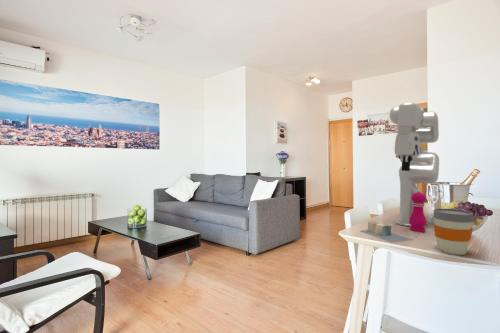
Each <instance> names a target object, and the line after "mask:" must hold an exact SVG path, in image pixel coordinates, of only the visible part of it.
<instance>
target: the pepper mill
mask: <svg viewBox="0 0 500 333" xmlns="http://www.w3.org/2000/svg"><path fill="white" fill-rule="evenodd" d="M419 189H420V188H419ZM419 189H418V190H417V193H414V194H413V195H412V197H411V199H412V201H413V204H412V205H413V212H412V215H411V216H410V219H409V223H410V224H411V226H410V227H409V230H410V231H413V232H419V233H423V234H424V233H426V228H425V226H427V217H426V216H425V213H424V207H425V202H426V200H427V197H426V195H425V194H424V193H423V192H422V191H421V189H420V190H419ZM420 192H421V193H420ZM425 217H426V218H425Z"/></svg>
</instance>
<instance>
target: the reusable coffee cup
mask: <svg viewBox="0 0 500 333" xmlns="http://www.w3.org/2000/svg"><path fill="white" fill-rule="evenodd" d="M432 217H433V220H434V221H433V222H434V223H433V231H434V237H435V239H436V247H437V249H438V250H440V251H441V252H442V253H445V254H449V255H460V256H461V255H466V254H467V251H468V246H469V242H470V241H471V238H472V233H473V228H472V226H473V222H474V219H475V218H474V212H471V211H468V210H463V209H462V210H461V209H456V208H435V209H433V215H432Z"/></svg>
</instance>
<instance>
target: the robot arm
mask: <svg viewBox="0 0 500 333" xmlns="http://www.w3.org/2000/svg"><path fill="white" fill-rule="evenodd" d="M389 119H390V122H391V123H392V124H395V125H397V133H396V136H395V141H394V154H395V158H396V159H399V160H400V162H401V166H400V167H399V169H398V177H399V185H400V187H399V188H400V191H399V217H398V218H399V219H396V220H395V223H396V224H397V225H400V226H403V227H409V228H410V226H411V224H410V223H409V219H410V216H411V215H412V212H413V205H412V204H413V201H412V199H411V197H412V195H413V194H414V193H417V190H418V189H419V190H421V189H420V187H419V186H418V185H417V184H435V183H437V181H438V179H439V174H440V173H439V171H440V158H439V155H438V154H437V153H436V152H432V151H431V152H428V151H427V152H425V150H424V149H423V147H422V146H421V144H433V143H436V142H438V140H439V136H440V135H439V117H438V114H437V113H436V112H435V111H425V110H424V108H423V107H422V106H421V105H419V104H417V103H415V102H406V103H401V104H399V105H398V106H393V107H391V109H390V111H389ZM420 193H422V191H421V192H420ZM425 218H426V219H427V217H426V216H425Z"/></svg>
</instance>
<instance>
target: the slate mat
mask: <svg viewBox="0 0 500 333" xmlns="http://www.w3.org/2000/svg"><path fill="white" fill-rule="evenodd" d="M359 232H361V233H363V234H366V235H369V236H372V237H375V238H378V239H380V240H384V241H386V242H389V243H392V244H393V243H400V242H401V243H402V242H407V241H414V239H412V238H409V237H406V236H403V235H400V234H397V233H393V232H391V235H390V236H381V235H378V234H375V233H372V232H369V231H368V229H366V230H365V229H363V230H359Z"/></svg>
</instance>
